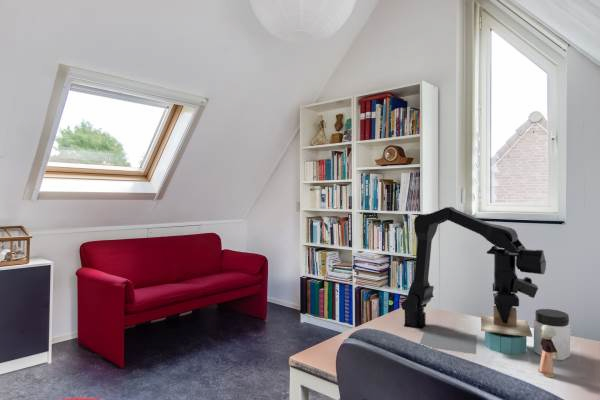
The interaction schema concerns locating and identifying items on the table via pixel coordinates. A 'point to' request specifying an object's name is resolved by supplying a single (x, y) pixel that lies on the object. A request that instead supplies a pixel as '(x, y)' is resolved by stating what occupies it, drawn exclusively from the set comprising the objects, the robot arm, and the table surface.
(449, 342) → the mat
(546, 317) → the jar
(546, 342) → the grandmother figurine
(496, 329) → the cover board
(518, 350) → the bowl
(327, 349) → the table surface
